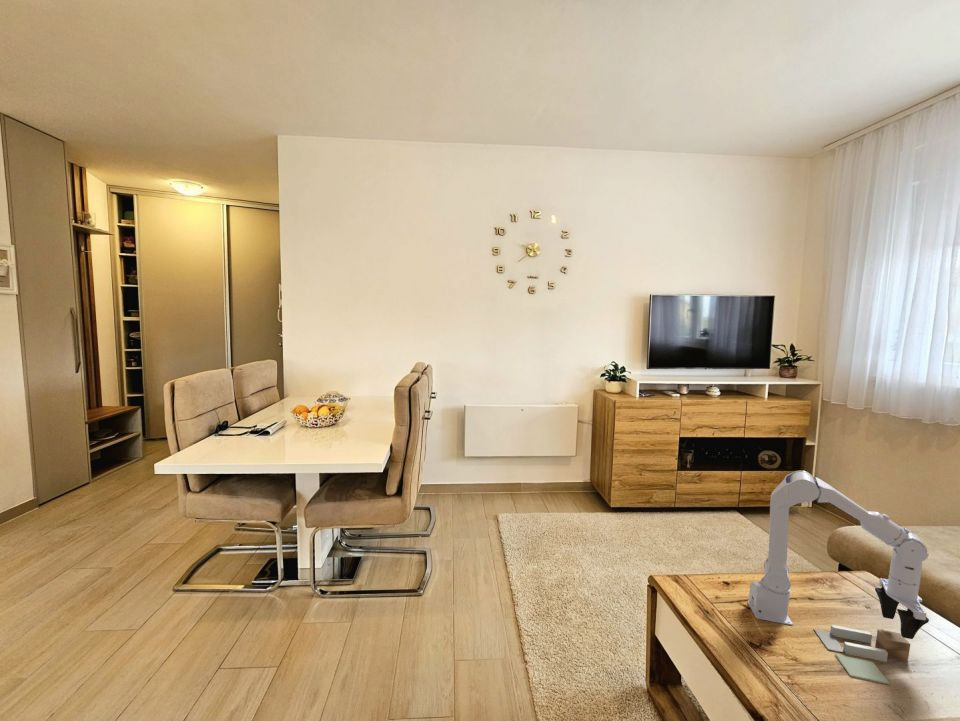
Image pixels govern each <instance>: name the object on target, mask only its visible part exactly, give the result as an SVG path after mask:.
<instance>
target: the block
mask: <svg viewBox="0 0 960 721" xmlns="http://www.w3.org/2000/svg"><path fill="white" fill-rule="evenodd" d="M874 644H875V648H879V649H884V650H886V651H887V653H888V656H887V659H888V658H889V659H892V660H898V661H902V662H906V663H907V662H909V656H910V649H911V643H910V642H909V641H908V640H907V638H903V637H902V636H901V632H900V633H899V632H895V631H888V630H885V629H884V630H883V629H879V628H877V631H876V638H875V643H874Z"/></svg>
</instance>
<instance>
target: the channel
mask: <svg viewBox="0 0 960 721" xmlns="http://www.w3.org/2000/svg"><path fill="white" fill-rule="evenodd" d="M813 631H814V632H815V634H816V635H817V637H818V638H819V639H820V641H821V642H822V644H823V645H824V647H825V648H826V650H827V651H830V652H836V653H840V654H846V655H850V656H855V657H861V658H865V659H869V660H870V659H871V660H874V661H875V660H876V661H879V662H885V663H887V662H888V658H887V656H888V653H887V651H886V650H884V649H879V648H877V647H874V646H869V645H862V644H858V643H854V642H853V643H852V642H848V641H844V642H843V647H842V646H841V645H840V643H839V641H838V640H837V639H836V638H841V639H847V640H851V641H857V642H862V643H866V644H872V640H873V639H872V638H873V634H872V633H871V632H870V631H866V630H861V629H858V628H857V629H856V628H851V627H846V626H841V625H835V624H831V625H830V631H826V630H823V629H816V628H813ZM835 637H836V638H835Z"/></svg>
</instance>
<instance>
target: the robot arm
mask: <svg viewBox="0 0 960 721" xmlns="http://www.w3.org/2000/svg"><path fill="white" fill-rule="evenodd" d="M815 500H816V502H817V503H819V504H820V503H830V504H831V505H833V506H835V507H837V508H838V509H839V510H841V511H843V512H845V513H846V514H848V515H849V516H852V517H853V518H854V519H857V521H859V522H860V526H861V528H862V529H863V530H865V531H867V533H869V534H870V535H872V536H873V537H875V538H877V539H878V540H880V541H881V542H882V543H884V544H886V545H887V546H890V547H892V548H893V549H892V556H891V560H890V565H889V572H888V578H882V577H880V578H879V583H878V584H879V586H880V587H874V591H875V592H876V595H877V597H878V600H879V604H880V609H881V615H882V617H883V618H884V619H891V620H894V619H895V616H896V613H898V616H899V621H900V634H901V636H902V637H903V638H905V639H908V640H913V639H914V638H915V637H916V635H917V633H918V631H919V630H920V629H921V628H922V627H923V626H925V625H926V624H927V623H929V621H930V619H929V618H928V617H927V612H926V611H925V610H924V608H923V607H922V604H921V603H922V602H923V599H922V597H920V596H919V590H920V584H921V577H922V569H923V561H924V562H925V561H926V560H928V557H929V553H928V548H927V547H926V545H925V544H924V543H923V542H922V540H921V539H920V538H919V536H918V535H917V534H916V533H914V531H913V530H910V529H908V528H906V527H902V526H900V525H899V524H897V523H895V522H894V521H893V520H891V518H890V516H889V515H887V514H885V513H882V514H881V513H880V512H878V511H872V510H871V511H870V510H869V511H867V509H865V508H863V507H862V506H860V505H859V504H858V503H856V502H855V501H853V500H852V499H851V498H849V497H848V496H846V495H845V494H843V493H842V492H840V491H838V490H837V489H835V488H834V487H833V486H831V484H828V483H827V482H825V481H824V480H823V479H820V478H819V477H817V476H815V477H814V475H812V474H811V473H809V472H808V471H805V470H795V471H793V472H791V473H789V474H786V475H785V477H784V478H783V479H782V480H781V482H780V483H779V484H778V485H777V486H776V487H775V488H774V490H773V491H772V492H771V493H770V503H769V505H770V506H769V528H768V529H769V532H768V551H767V558H766V560H765V561H764V563H763V569H764V576H762V577H761V578H760V580H757V581H751V582H750V584H749V594H748V600H747V605H748V606H749V608H750V610H751V612H752V614H753V615H754V617H755V619H757V620H763V621H768V622H773V623H778V624H784V625H788V626H793V625H794V623H793V622H792V620H791V618H790V617H789V614H788V613H789V604H790V594H791V588H792V587H791V585H792V584H791V580H790V576H789V572H790V570H789V566H788V545H789V544H788V541H789V520H790V518H789V517H790V507H793V506H794V505H797V504H804V503H811V502H814V501H815ZM899 604H900V605H902V606H903V607H905V608H906V609H901V608H898V607H899Z"/></svg>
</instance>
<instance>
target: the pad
mask: <svg viewBox="0 0 960 721" xmlns="http://www.w3.org/2000/svg"><path fill="white" fill-rule="evenodd" d="M834 656H835V657H836V658H837V660H838V661H839V663H840V664H841V666H842V667H843V669H845V671H846V672H847V674H848V675H849V677H851V678H857V679H861V680H864V681H865V680H866V681H869V682H875V683H879V684H880V683H881V684H885V685H887V686H890V682H889V680H888V679H887V678H886V677H885V676H884V675H883V673H882V672H881V671H880V669H879V668H878V666H876V665H875V663H874V662H873V660H867V659H863V658H858V657H852V656H847V655H844V654H843V655H842V654H838V653H835V655H834Z"/></svg>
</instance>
